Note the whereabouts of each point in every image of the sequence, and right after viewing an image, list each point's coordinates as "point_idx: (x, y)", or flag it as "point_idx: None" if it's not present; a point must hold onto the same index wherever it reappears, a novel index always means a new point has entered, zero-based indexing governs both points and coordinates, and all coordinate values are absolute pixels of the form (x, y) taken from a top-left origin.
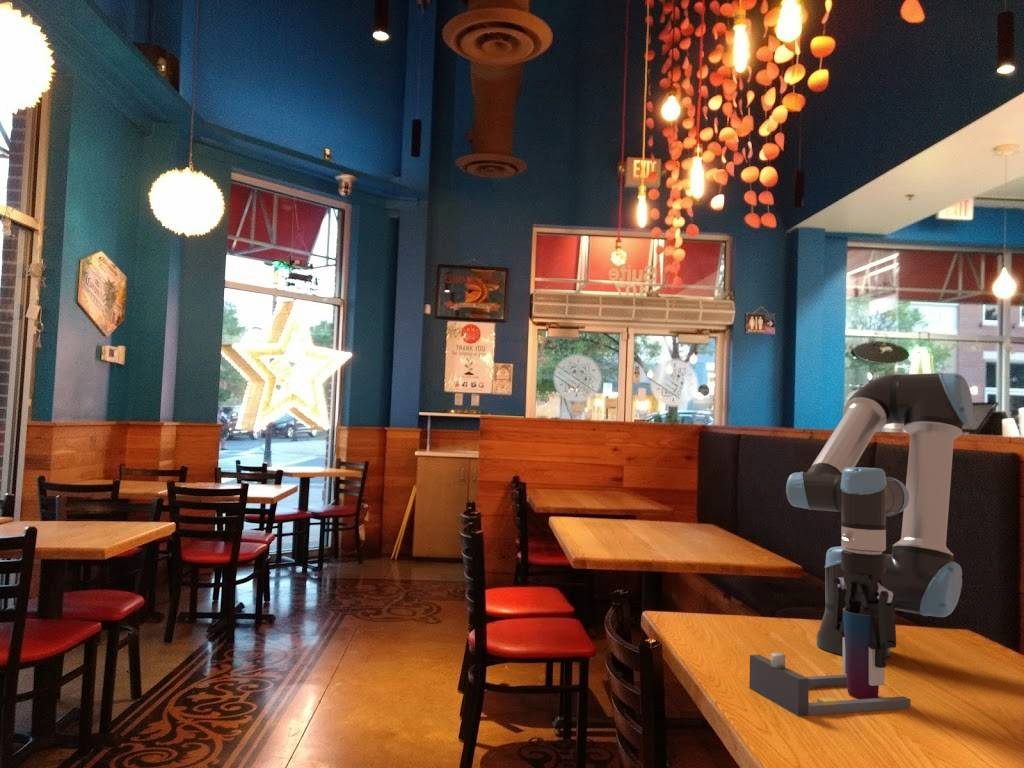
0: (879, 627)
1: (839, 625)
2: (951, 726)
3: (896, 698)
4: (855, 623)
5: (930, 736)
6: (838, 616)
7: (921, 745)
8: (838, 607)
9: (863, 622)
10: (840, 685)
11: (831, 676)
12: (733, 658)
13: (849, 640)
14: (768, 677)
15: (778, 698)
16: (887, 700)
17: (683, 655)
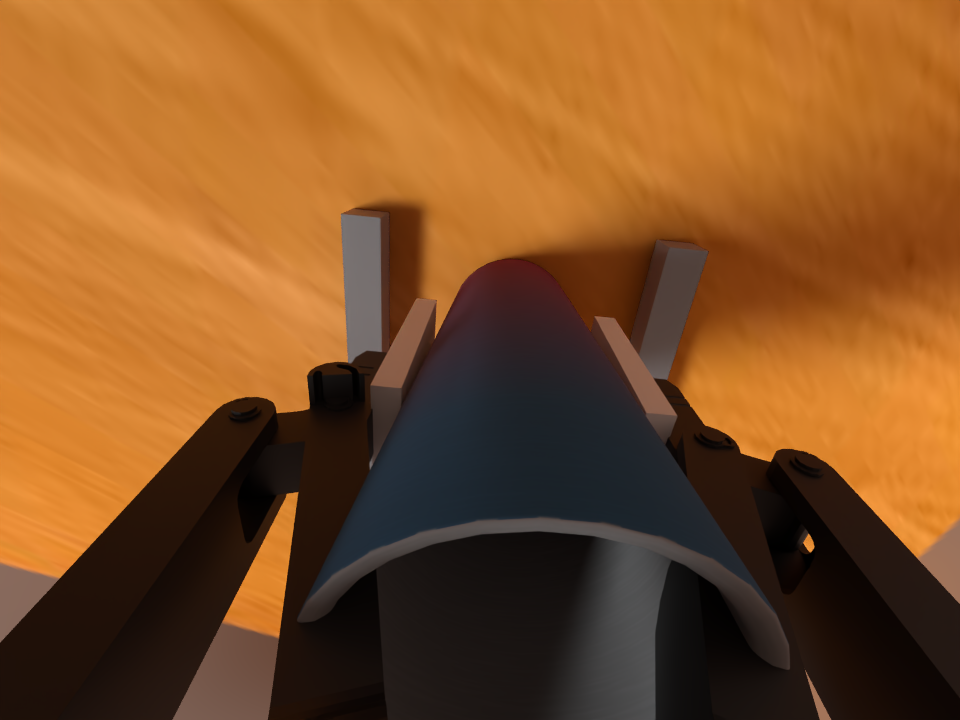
0: (807, 666)
1: (278, 493)
2: (895, 258)
3: (670, 305)
4: (575, 683)
5: (878, 412)
6: (242, 568)
7: (887, 488)
8: (193, 667)
9: (643, 690)
10: (389, 309)
11: (361, 347)
12: (51, 456)
13: (507, 545)
14: None
15: None
16: (669, 363)
17: (50, 568)
